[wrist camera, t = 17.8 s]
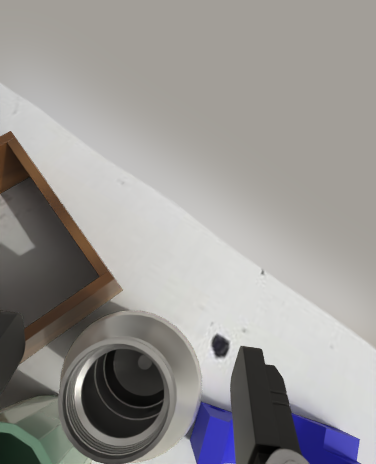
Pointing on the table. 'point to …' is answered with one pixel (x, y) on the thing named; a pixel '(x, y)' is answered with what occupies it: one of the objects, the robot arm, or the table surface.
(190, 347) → the silver metal bottle
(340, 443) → the blue cradle bracket
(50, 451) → the cup
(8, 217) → the table surface
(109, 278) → the open box
